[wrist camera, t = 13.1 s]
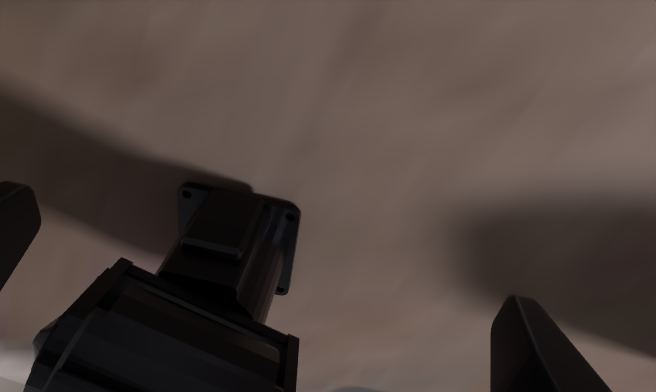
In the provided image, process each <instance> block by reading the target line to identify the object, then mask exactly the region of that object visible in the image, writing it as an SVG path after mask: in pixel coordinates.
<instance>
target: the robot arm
mask: <svg viewBox="0 0 656 392" xmlns="http://www.w3.org/2000/svg"><path fill="white" fill-rule="evenodd" d="M186 191H189V192H190V193H191V194H188V193H187V192H186ZM288 213H290V214H293V215H294V217H291V216H289V215H288ZM178 215H179V237H178V239H177V240H176V242H175V244H174V245H173V247H172V248H171V250H170V251H169V253H168V255H167V256H166V258H165V259H164V261H163V262H162V264H161V266H160V267H159V269H158V270H157V272H156V273H155V275H154V274H152V273H150V272H148V271H146V270H143V269H141V268H139V267H137V266H135V265H133V262H131V261H129V260H127V259H125V258H122V257H121V258H120V259H119V260H118V261H117V262H116V263H115V264H114V265H113V266H112V267H111V269H109V268H107V269H106V270H105V271H104V272H103V273H102V274H101V275H100V276H98V277H97V278H96V280H95V281H94V282H93V283H92V284H91V285H90V286H89V287H88V288H87V289H86V290H85V292H84V293H83V294H82V295H81V296H80V297H79V298H78V299H77V300H76V301H75V302H74V303H73V304H72V305H71V306H70V307H69V308H68V309H67V310H66V311H65V312H64V313H63V314H62V315H61V316H59V317H58V318H57V319H55V320H54V321H53V322H51V323H50V324H48V325H47V326H46V327H44V328H43V329H42V330H41V331H40V332H39V333H38V334H37V336H36V337H35V339H34V341H33V343H32V348H33V352H34V356H35V361H34V363H33V366H32V368H31V373H30V375H29V377H28V380H27V382H26V384H25V388H24V391H23V392H296V381H297V366H298V352H299V338H297V337H295V336H293V335H291V334H288V335H286V334H283V333H281V332H279V331H277V330H275V329H272V328H270V327H268V326H266V325H264V324H265V321H266V318H267V315H268V312H269V309H270V306H271V303H272V300H273V297H274V294H276V295H286V294H287V293H288V290H289V287H290V281H291V275H292V269H293V262H294V256H295V250H296V243H297V237H298V231H299V224H300V218H301V211H300V210H299V208H297V207H296V206H293V205H289V204H285V203H280V202H276V201H271V200H267V199H262V198H258V197H253V196H248V195H244V194H239V193H235V192H230V191H226V190H221V189H217V188H212V187H208V186H203V185H199V184H194V183H189V182H186V183H183V184H182V185H181V187H180V188H179V189H178ZM40 226H41V216H40V212H39V208H38V205H37V201H36V197H35V193H34V190H33V189H32V188H31V186H29V185H27V184H23V183H18V182H14V181H3V182H0V291H1V289H2V288H3V287H4V285H5V283H6V282H7V280H8V279H9V277H10V275H11V274H12V272H13V271H14V269H15V268H16V266H17V264H18V263H19V261H20V260H21V258H22V257H23V255H24V253H25V252H26V250H27V249H28V247H29V245H30V244H31V242H32V241H33V239H34V238H35V236H36V234H37V233H38V231H39V229H40ZM279 286H280V287H279ZM281 287H283V288H281ZM490 392H612V391H611V390H610V388H609V387H608V386H607V385H606V384H605V382H604V381H603V380H602V379H601V378H600V376H599V375H598V374H597V373H596V372H595V370H594V369H593V368H592V367H591V366H590V364H589V363H588V362H587V361H586V360H585V358H584V357H583V356H582V355H581V354H580V352H579V351H578V350H577V349H576V348H575V346H574V345H573V344H572V343H571V342H570V340H569V339H568V338H567V337H566V336H565V334H564V333H563V332H562V331H561V330H560V328H559V327H558V326H557V325H556V324H555V322H554V321H553V320H552V319H551V318H550V316H549V315H548V314H547V313H546V312H545V310H544V309H543V308H542V307H541V305H540V304H539V303H538V302H537V301H536V300H535V299H534V298H531V297H528V296H523V295H519V294H510V295H509V296H508V297H507V298H506V300H505V302H504V303H503V305H502V307H501V309H500V310H499V312H498V314H497V316H496V317H495V319H494V321H493V324H492V327H491V365H490Z"/></svg>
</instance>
